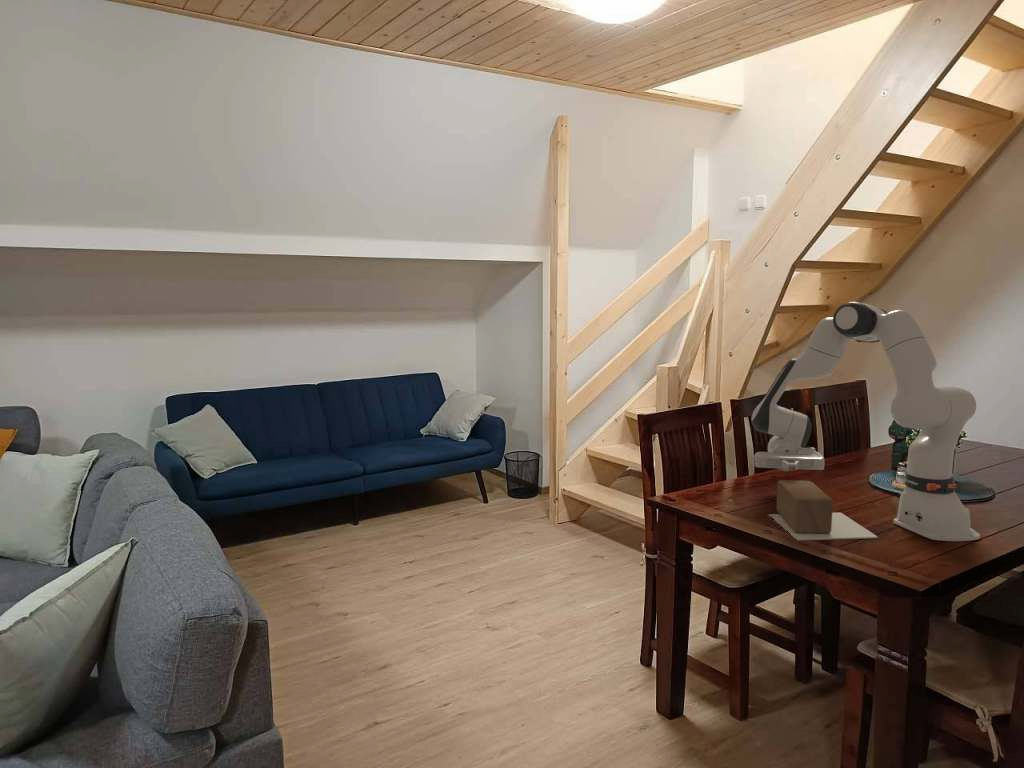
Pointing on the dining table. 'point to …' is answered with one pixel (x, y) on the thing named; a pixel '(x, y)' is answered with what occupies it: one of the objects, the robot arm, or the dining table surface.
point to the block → (804, 506)
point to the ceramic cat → (899, 443)
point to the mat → (839, 529)
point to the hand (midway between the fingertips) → (792, 467)
